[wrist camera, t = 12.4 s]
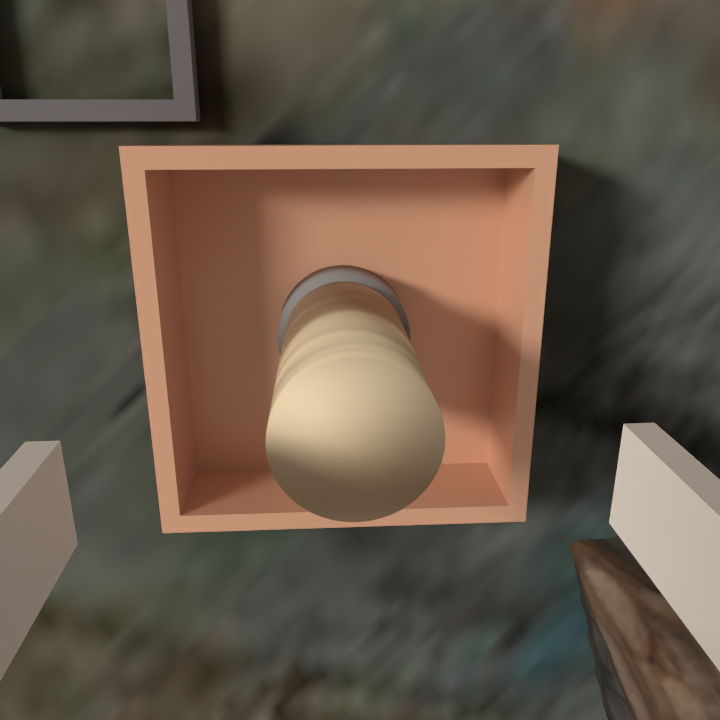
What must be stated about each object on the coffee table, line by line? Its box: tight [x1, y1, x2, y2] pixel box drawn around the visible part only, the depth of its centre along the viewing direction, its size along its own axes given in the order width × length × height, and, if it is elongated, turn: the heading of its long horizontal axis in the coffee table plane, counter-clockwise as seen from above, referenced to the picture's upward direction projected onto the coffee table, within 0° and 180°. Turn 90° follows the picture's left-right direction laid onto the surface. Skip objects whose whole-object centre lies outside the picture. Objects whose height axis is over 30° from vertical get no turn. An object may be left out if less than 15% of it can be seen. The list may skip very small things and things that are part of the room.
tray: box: [119, 144, 559, 533], centre depth 28 cm, size 16×16×5 cm
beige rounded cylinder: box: [266, 265, 446, 522], centre depth 24 cm, size 6×6×12 cm
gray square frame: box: [0, 0, 201, 122], centre depth 25 cm, size 9×9×1 cm
